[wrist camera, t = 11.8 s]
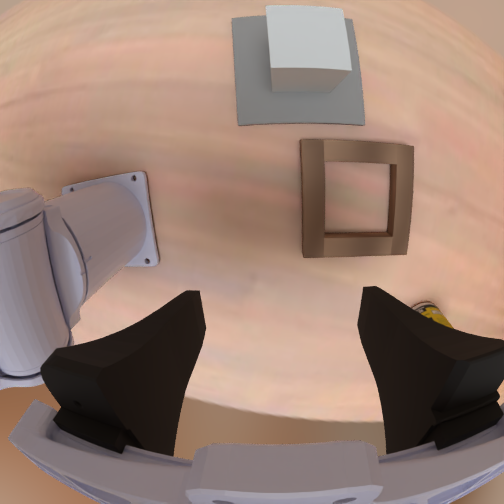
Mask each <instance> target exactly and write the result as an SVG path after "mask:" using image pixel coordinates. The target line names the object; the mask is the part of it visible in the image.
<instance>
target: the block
mask: <svg viewBox="0 0 504 504" xmlns="http://www.w3.org/2000/svg"><path fill="white" fill-rule="evenodd" d="M266 17H267V29H268V41H269V54H270V67H271V82H272V92H322V93H330V92H331V91H332V90H333V89H334V88H335V87H336V86H337V85H338V84H339V83H340V82H341V81H342V80H343V79H344V78H345V77H346V76H347V75H348V74H349V73H350V72H351V71H352V67H351V59H350V51H349V44H348V38H347V32H346V26H345V20H344V15H343V10H342V9H340V8H331V7H319V6H300V5H269V6H266Z"/></svg>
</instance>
